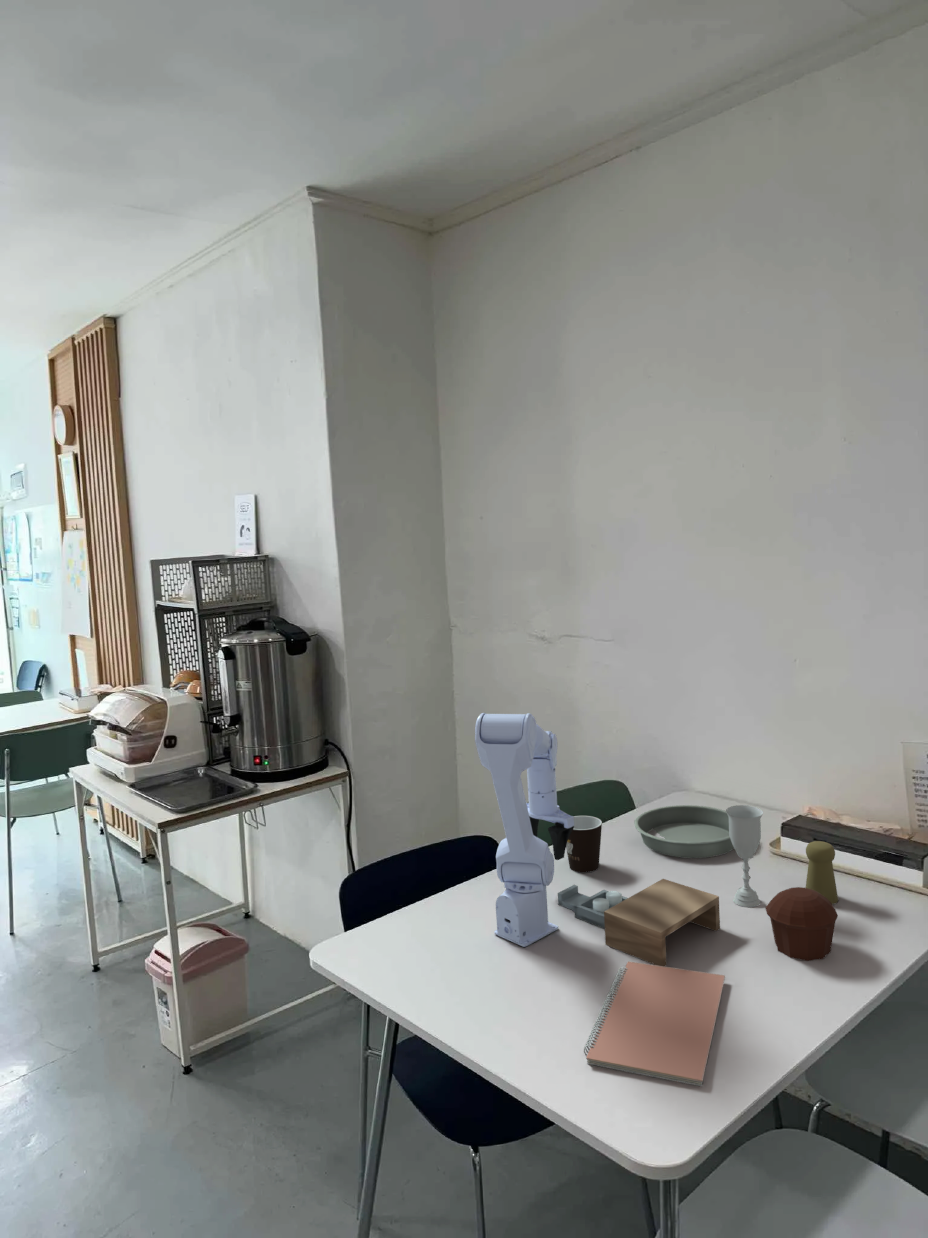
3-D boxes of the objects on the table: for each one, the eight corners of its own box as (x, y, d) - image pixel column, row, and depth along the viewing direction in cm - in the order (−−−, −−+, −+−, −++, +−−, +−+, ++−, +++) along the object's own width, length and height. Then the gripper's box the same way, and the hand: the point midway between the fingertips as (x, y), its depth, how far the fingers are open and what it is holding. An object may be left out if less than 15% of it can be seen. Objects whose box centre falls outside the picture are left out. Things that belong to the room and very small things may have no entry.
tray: (612, 932, 156) (611, 913, 155) (551, 908, 167) (550, 890, 166) (641, 914, 162) (640, 896, 161) (581, 892, 173) (580, 875, 172)
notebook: (622, 970, 144) (621, 958, 143) (725, 985, 137) (725, 973, 137) (579, 1068, 119) (578, 1054, 119) (702, 1092, 112) (702, 1078, 112)
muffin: (802, 926, 153) (800, 873, 152) (853, 952, 143) (852, 895, 142) (752, 943, 148) (750, 889, 147) (802, 972, 138) (800, 913, 137)
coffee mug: (606, 873, 181) (604, 828, 180) (566, 876, 181) (564, 831, 180) (599, 852, 193) (597, 810, 192) (561, 854, 193) (559, 812, 192)
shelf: (662, 968, 142) (660, 932, 142) (605, 944, 151) (604, 911, 151) (719, 928, 154) (718, 896, 154) (664, 909, 163) (663, 878, 162)
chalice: (768, 910, 160) (765, 818, 158) (730, 909, 161) (727, 818, 159) (762, 893, 167) (760, 805, 165) (726, 892, 169) (723, 805, 167)
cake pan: (683, 814, 214) (683, 797, 213) (767, 841, 194) (766, 822, 193) (613, 840, 200) (612, 822, 200) (695, 871, 180) (694, 851, 179)
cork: (832, 891, 166) (831, 837, 165) (842, 905, 160) (842, 849, 159) (800, 891, 167) (799, 838, 166) (809, 905, 161) (808, 850, 160)
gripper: (582, 791, 168) (586, 856, 170) (529, 777, 179) (533, 839, 181) (559, 800, 164) (562, 867, 165) (506, 786, 174) (510, 849, 176)
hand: (545, 854), depth 173 cm, fingers open, 7 cm apart
